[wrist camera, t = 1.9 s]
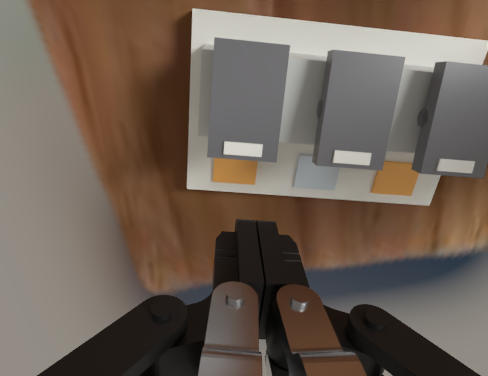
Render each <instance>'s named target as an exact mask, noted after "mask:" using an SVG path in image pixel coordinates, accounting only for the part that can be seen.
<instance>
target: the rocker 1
mask: <svg viewBox="0 0 488 376" xmlns="http://www.w3.org/2000/svg"><path fill="white" fill-rule="evenodd" d="M289 51H290V45H284V44H274V43H265V42H255V41H246V40H236V39H226V38H217V37H215V38H214V54H213V70H212V87H211V103H210V119H209V135H208V151H207V157H210V158H223V159H236V160H249V161H262V162H275V163H276V162H277V154H278V145H279V136H280V128H281V119H282V111H283V102H284V94H285V85H286V77H287V68H288V60H289Z"/></svg>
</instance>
